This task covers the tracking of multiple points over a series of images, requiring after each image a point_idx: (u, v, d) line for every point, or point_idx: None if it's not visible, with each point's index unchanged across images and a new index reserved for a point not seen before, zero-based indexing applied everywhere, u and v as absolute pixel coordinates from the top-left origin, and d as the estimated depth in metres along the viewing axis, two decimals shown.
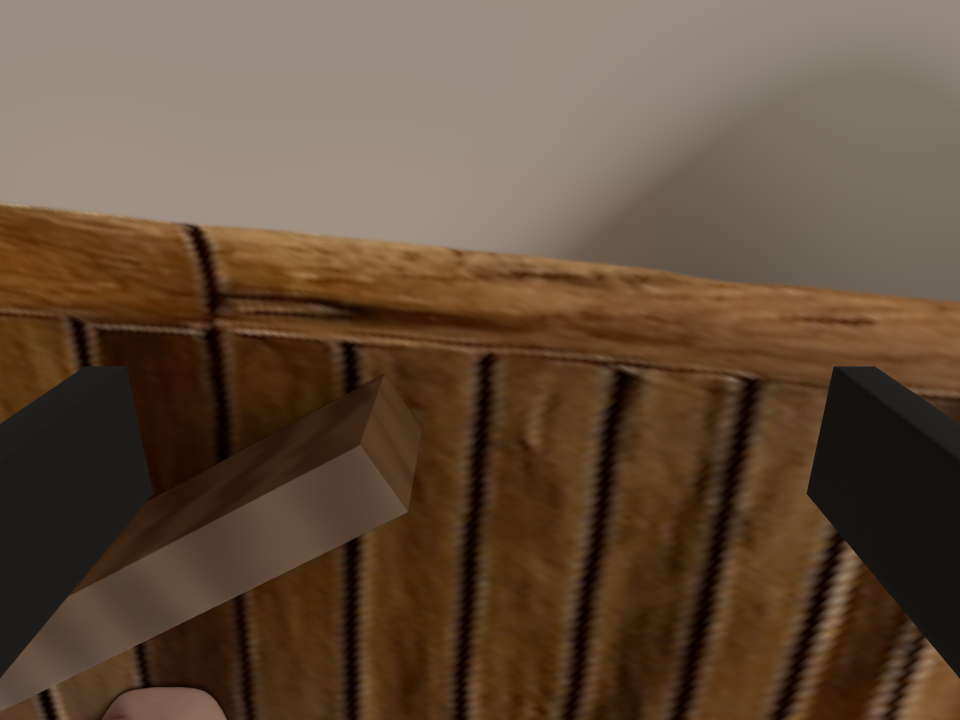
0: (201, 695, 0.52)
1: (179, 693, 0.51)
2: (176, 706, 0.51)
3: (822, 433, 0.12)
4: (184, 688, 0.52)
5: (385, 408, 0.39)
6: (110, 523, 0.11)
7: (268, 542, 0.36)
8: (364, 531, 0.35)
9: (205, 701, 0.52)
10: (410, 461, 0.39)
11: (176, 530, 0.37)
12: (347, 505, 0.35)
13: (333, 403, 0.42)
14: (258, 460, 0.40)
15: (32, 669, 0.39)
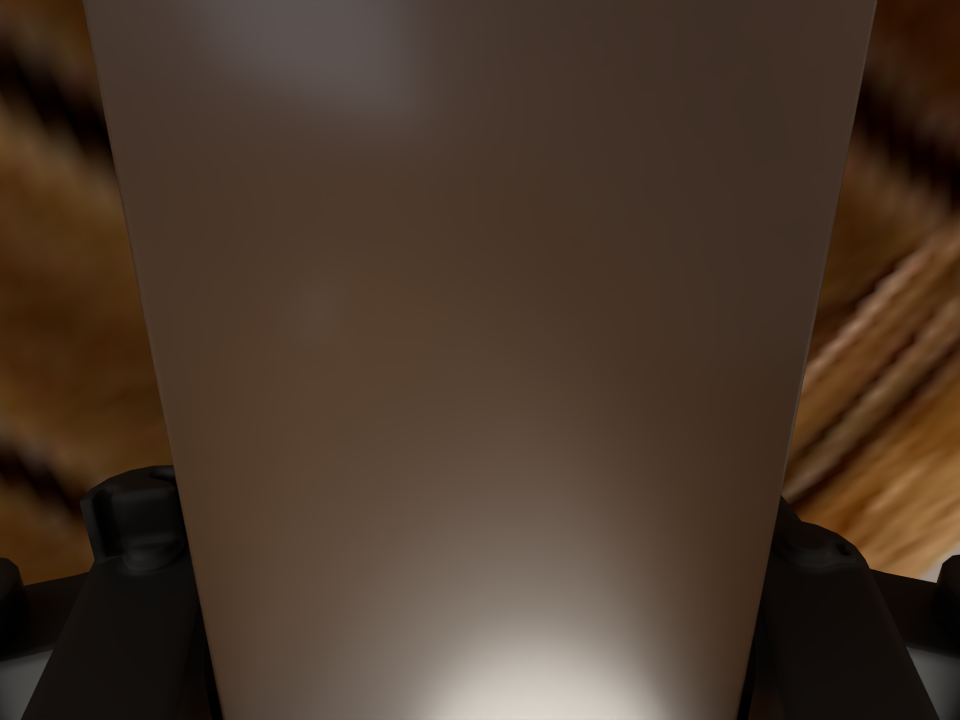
0: None
1: None
2: None
3: None
4: None
5: None
6: None
7: (445, 407, 0.05)
8: None
9: None
10: None
11: None
12: None
13: None
14: None
15: None
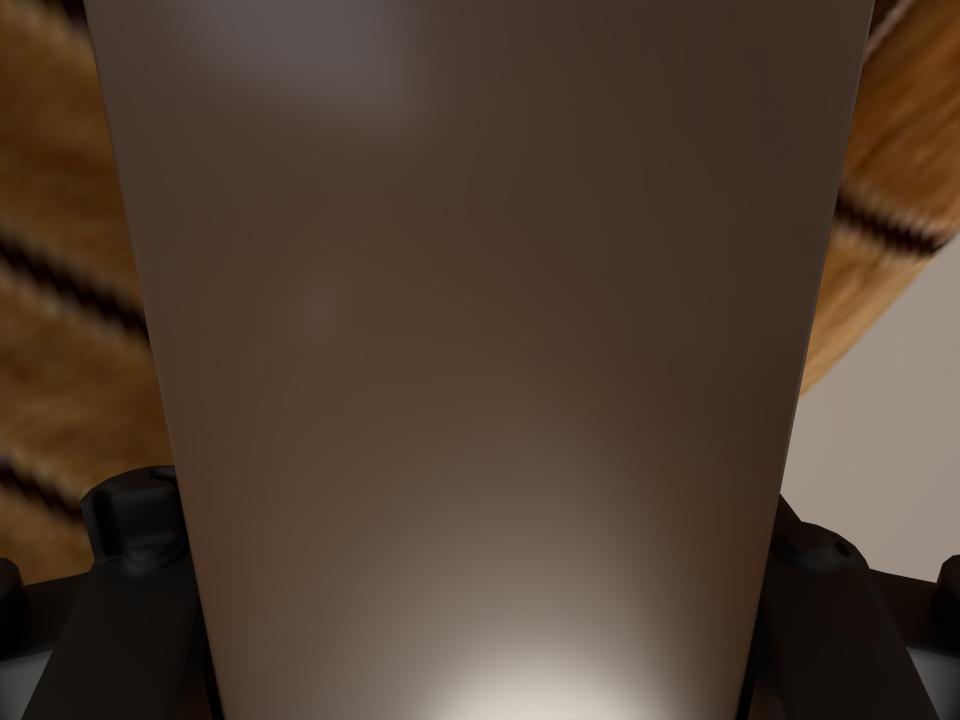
0: None
1: None
2: None
3: None
4: None
5: None
6: None
7: (444, 406, 0.05)
8: None
9: None
10: None
11: None
12: None
13: None
14: None
15: None
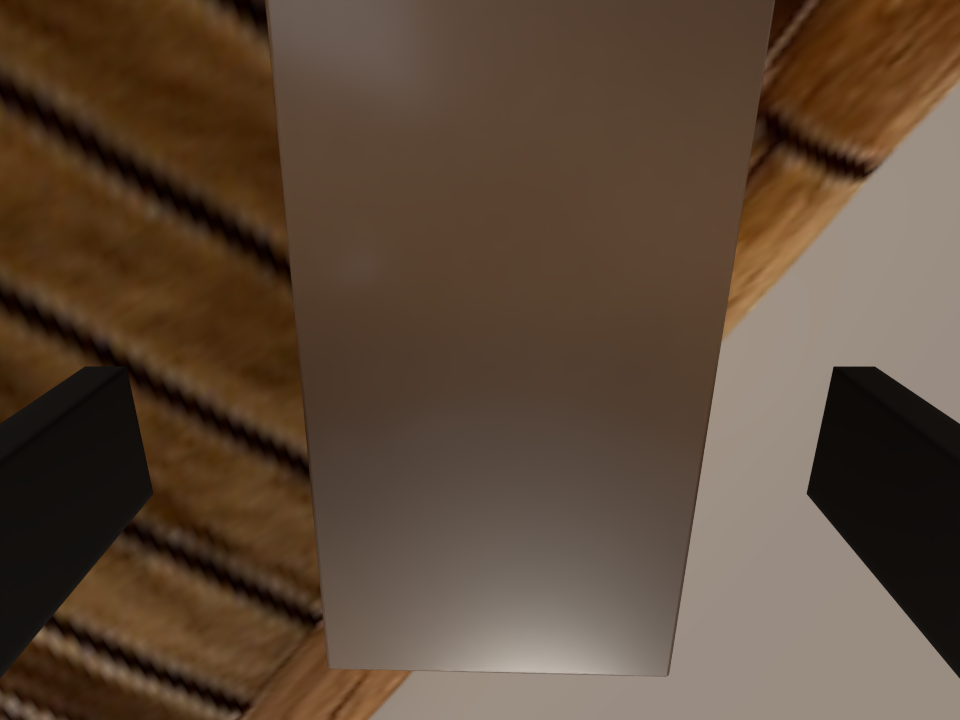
0: None
1: None
2: None
3: (822, 433, 0.12)
4: None
5: None
6: (109, 523, 0.11)
7: (489, 62, 0.06)
8: (321, 504, 0.08)
9: None
10: None
11: None
12: (471, 515, 0.08)
13: None
14: None
15: None
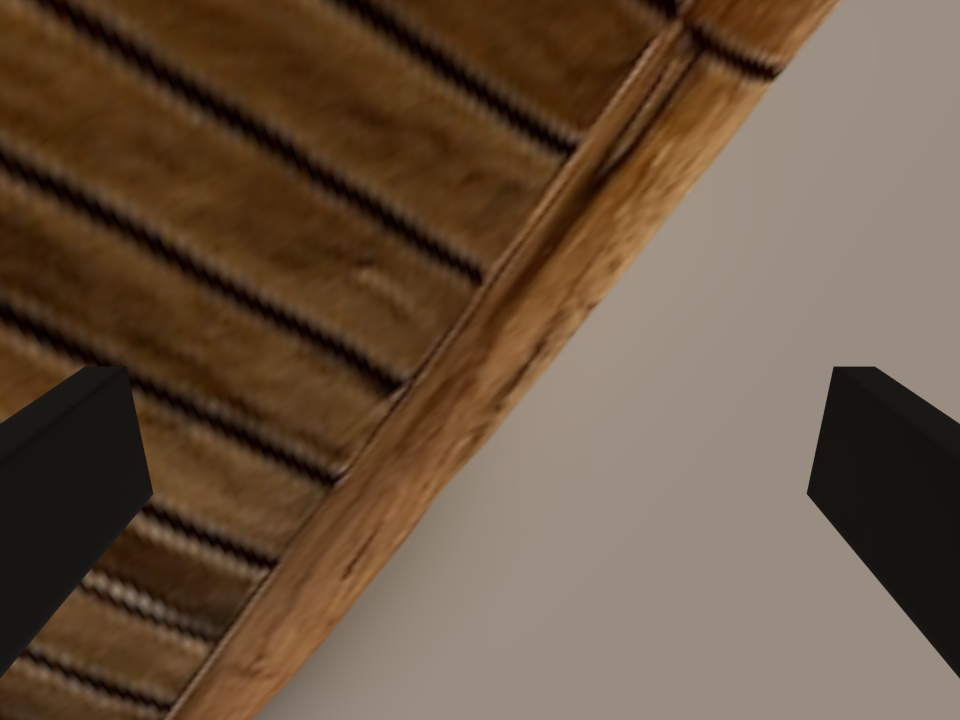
0: None
1: None
2: None
3: (821, 433, 0.12)
4: None
5: None
6: (109, 523, 0.11)
7: None
8: None
9: None
10: None
11: None
12: None
13: None
14: None
15: None
